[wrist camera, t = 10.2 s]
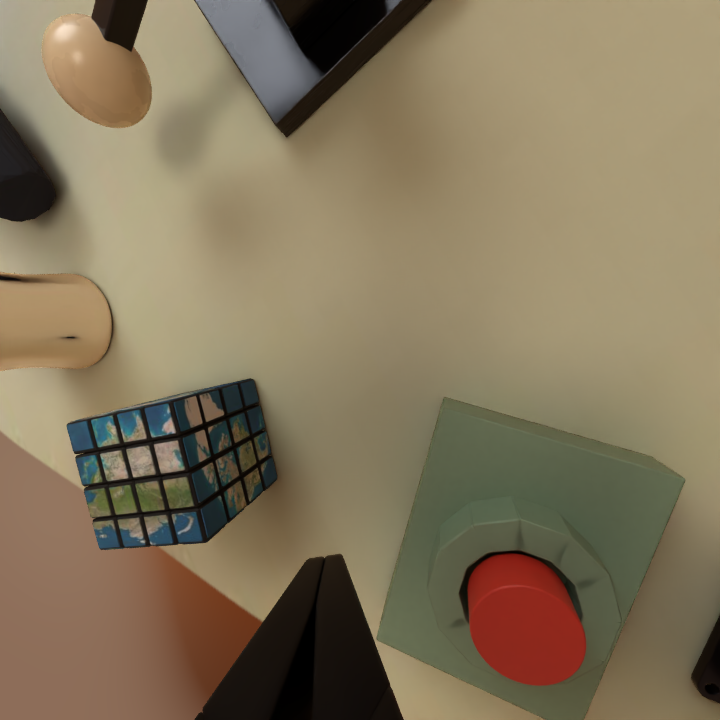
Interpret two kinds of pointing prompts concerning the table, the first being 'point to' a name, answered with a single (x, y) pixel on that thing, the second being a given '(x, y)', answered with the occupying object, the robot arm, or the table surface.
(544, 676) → the button
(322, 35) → the bracket
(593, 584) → the button block
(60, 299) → the beer glass
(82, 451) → the puzzle
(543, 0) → the table surface
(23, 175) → the handheld device
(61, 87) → the lever
